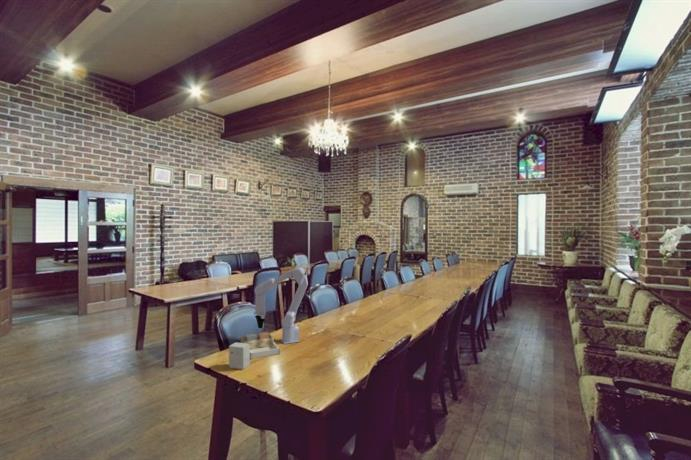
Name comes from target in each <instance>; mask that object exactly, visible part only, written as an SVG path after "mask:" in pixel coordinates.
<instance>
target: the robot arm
mask: <svg viewBox="0 0 691 460" xmlns="http://www.w3.org/2000/svg"><path fill="white" fill-rule="evenodd" d="M287 279H294V280H295V281H296V282H297V284H298V287H297V289H296V291H295V294H294V296H293V298H292V301H291V303H290V306H289V307H288V310H287V312H286V313H285V316H283V317H282V319H281V326H282V328H281V329H282V333H281V334H282V337H281V338H280V340H279V341H281V343H282V344H283V345H287V344H294V343H299V342H300V328H299V325H298V324H295V322H296V315H297V312H298V309H299V306H300V305H301V301H302V300H303V298H304V295H305V292H306V290H307V288H308V286H309V282H308V273H307V271H306V269H305V268H304V267H303V266H297V267H296V268H294V269H291V270H288V271H287V272H284V273H283V274H281V275H279V276H278V277H276V278H273V277H271V278H267V280H266V281H264V282H261V283H260V284H257V285H256V286H255V288H254V290H253V291H254V294H255V311H254V312H253V315H254V317H255V319H256V323H257V328H258V329H262V328H263V327H264V322H265V319H266V318H267V316H266V313H267V312H266V293H267V292H269V291H271V290H273V289H274V288H276V287H277V285H278V284H279V283H281V282H282V281H285V280H287Z"/></svg>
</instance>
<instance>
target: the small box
mask: <svg viewBox="0 0 691 460" xmlns="http://www.w3.org/2000/svg"><path fill="white" fill-rule="evenodd" d="M250 361H251V359H250V347H249V344H247V343H241V342H234V343H232V344H230V345H228V367H229V368H231V369H236V370H237V369H238V370H244V369H246V368H248V367H249V366H250V364H251V362H250Z"/></svg>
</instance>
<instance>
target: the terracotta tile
mask: <svg viewBox="0 0 691 460" xmlns="http://www.w3.org/2000/svg"><path fill="white" fill-rule="evenodd" d="M269 334H270V332H268V331H259V332H258V333H257V335H258V337H259V339H267V338H269Z"/></svg>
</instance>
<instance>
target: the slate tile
mask: <svg viewBox="0 0 691 460" xmlns="http://www.w3.org/2000/svg"><path fill="white" fill-rule="evenodd" d="M257 335H258V334H256V333H255V332H254V333H253V332H252V333H246V334H245V337H246V340H247V341H253V340H257Z"/></svg>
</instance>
